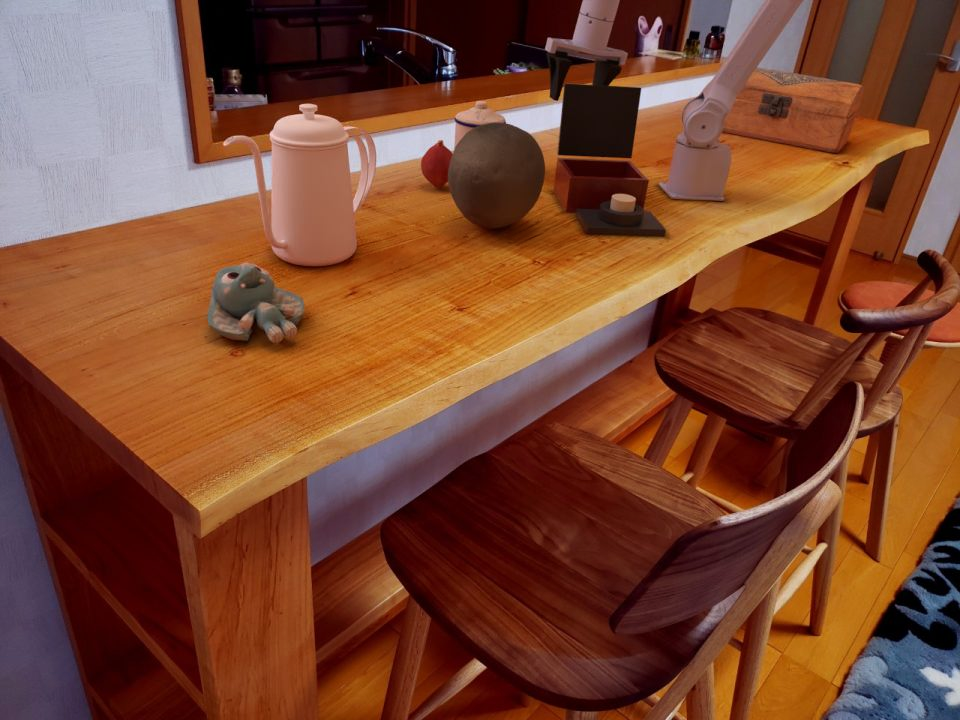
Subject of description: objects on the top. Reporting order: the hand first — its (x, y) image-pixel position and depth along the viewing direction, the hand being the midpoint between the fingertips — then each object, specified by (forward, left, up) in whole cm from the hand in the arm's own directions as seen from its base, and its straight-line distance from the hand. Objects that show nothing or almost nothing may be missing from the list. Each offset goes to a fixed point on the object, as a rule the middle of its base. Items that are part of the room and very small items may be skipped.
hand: (573, 101), depth 128 cm
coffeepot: (+41, +38, -13) cm, 57 cm away
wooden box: (-59, -39, -13) cm, 72 cm away
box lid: (-3, +8, -1) cm, 9 cm away
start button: (-4, +24, -11) cm, 27 cm away
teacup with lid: (+14, -4, -13) cm, 20 cm away
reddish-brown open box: (-3, +14, -13) cm, 19 cm away
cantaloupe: (+16, +27, -13) cm, 34 cm away
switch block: (-4, +24, -13) cm, 28 cm away
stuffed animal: (+45, +58, -13) cm, 74 cm away
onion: (+23, +9, -13) cm, 28 cm away
